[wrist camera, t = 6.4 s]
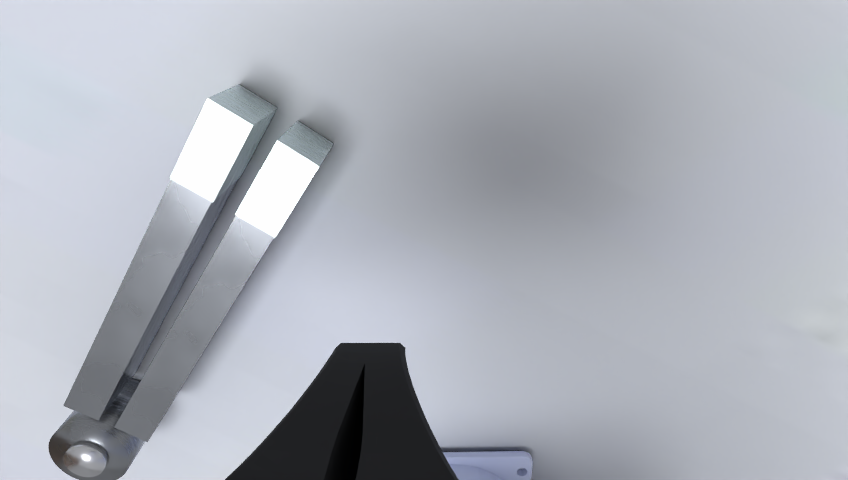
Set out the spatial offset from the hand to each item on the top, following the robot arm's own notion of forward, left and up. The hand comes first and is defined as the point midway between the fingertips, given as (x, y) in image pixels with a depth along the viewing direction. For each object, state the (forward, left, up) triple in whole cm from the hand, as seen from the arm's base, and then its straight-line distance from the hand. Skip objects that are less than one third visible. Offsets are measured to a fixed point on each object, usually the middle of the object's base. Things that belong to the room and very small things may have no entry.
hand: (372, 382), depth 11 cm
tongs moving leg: (-2, +9, -10) cm, 14 cm away
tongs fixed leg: (-4, +9, -10) cm, 14 cm away
